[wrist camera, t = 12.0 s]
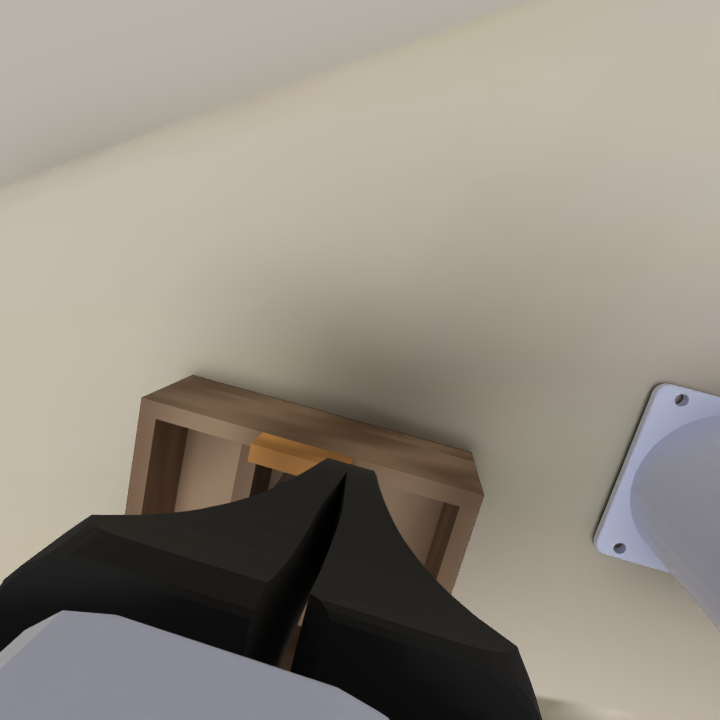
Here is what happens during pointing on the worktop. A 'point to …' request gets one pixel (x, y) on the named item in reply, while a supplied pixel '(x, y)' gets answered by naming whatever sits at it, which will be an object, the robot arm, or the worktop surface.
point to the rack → (296, 465)
